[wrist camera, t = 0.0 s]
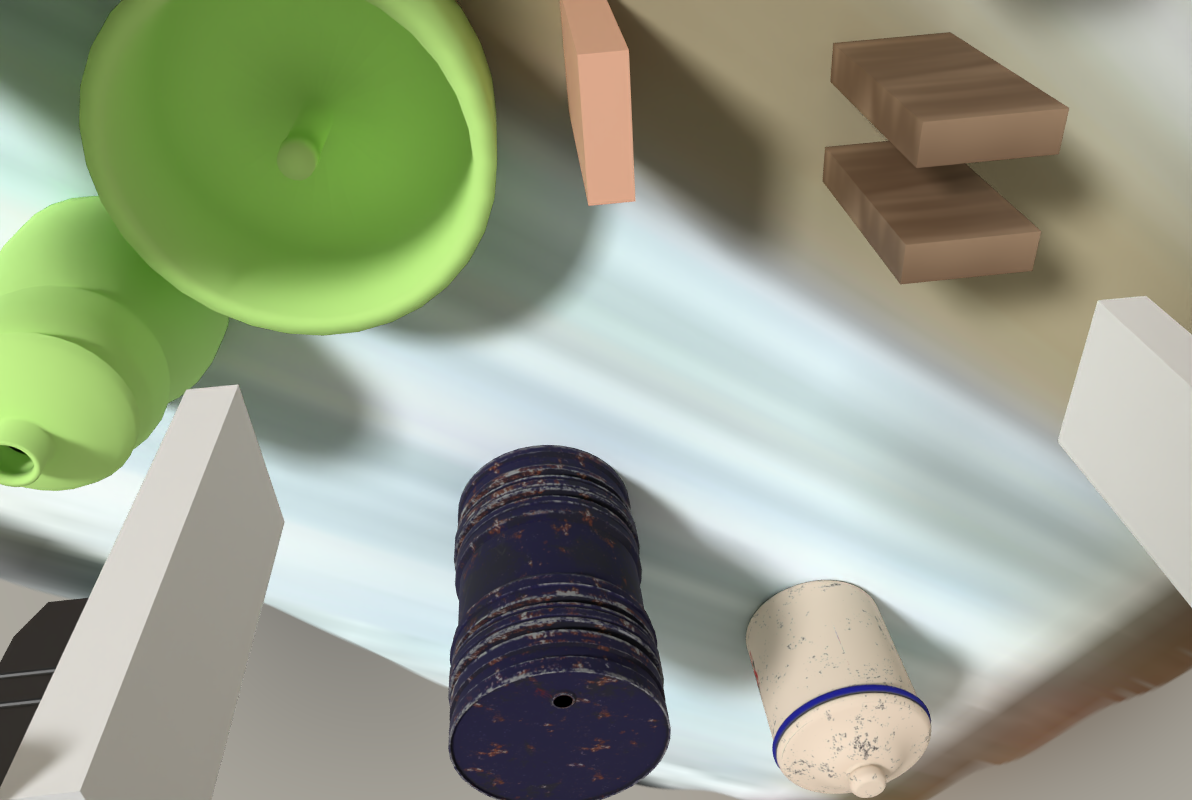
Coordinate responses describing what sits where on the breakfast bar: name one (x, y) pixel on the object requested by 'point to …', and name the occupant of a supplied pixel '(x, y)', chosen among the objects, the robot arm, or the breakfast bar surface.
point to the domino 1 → (599, 99)
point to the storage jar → (552, 633)
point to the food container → (237, 207)
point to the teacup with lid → (835, 690)
